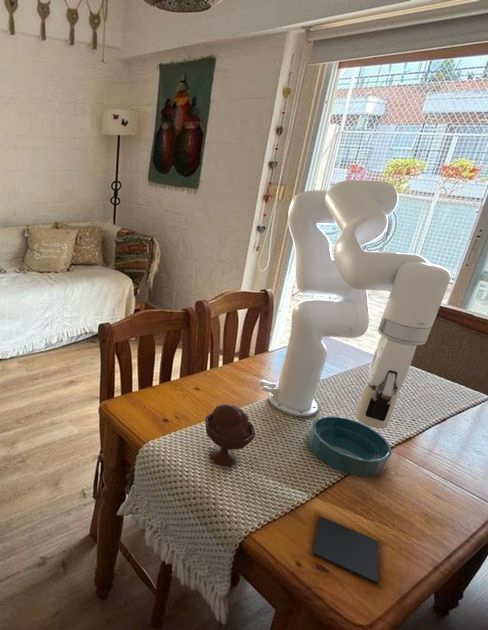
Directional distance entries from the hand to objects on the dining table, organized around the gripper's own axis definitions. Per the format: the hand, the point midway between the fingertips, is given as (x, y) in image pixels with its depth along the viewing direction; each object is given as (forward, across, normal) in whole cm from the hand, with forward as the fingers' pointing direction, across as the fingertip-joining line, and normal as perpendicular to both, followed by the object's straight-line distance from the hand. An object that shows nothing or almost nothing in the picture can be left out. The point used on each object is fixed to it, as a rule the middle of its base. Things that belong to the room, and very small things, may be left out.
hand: (374, 409), depth 89 cm
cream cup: (+3, 0, 0) cm, 3 cm away
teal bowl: (+20, -12, -1) cm, 23 cm away
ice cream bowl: (+20, +7, -25) cm, 33 cm away
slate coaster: (+20, +18, +1) cm, 27 cm away
